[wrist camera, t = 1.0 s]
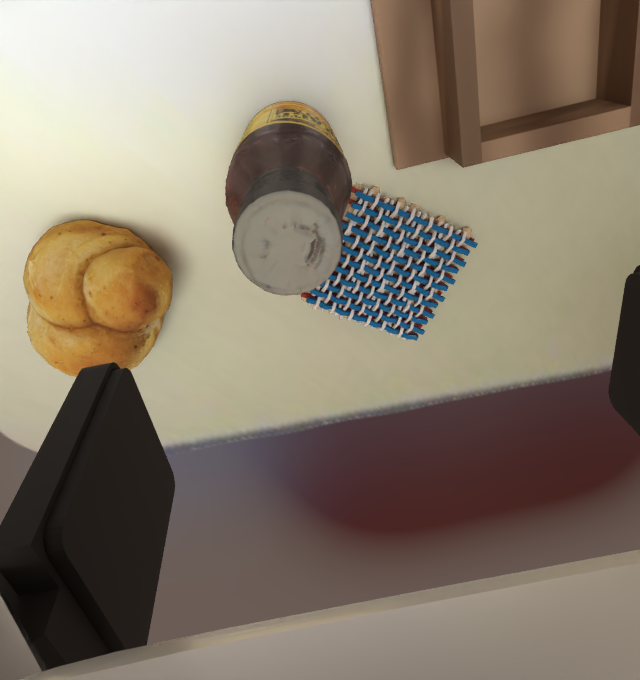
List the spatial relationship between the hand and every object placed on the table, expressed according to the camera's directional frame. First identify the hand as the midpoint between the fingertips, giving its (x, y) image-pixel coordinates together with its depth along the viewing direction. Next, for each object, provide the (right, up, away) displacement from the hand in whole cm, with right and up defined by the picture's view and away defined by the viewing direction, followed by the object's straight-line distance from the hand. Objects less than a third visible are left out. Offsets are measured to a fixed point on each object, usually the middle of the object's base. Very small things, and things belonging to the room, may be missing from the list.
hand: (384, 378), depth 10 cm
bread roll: (-18, +5, +31) cm, 36 cm away
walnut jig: (+12, +22, +23) cm, 34 cm away
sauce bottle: (-3, +14, +26) cm, 30 cm away
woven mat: (+4, +7, +32) cm, 33 cm away
